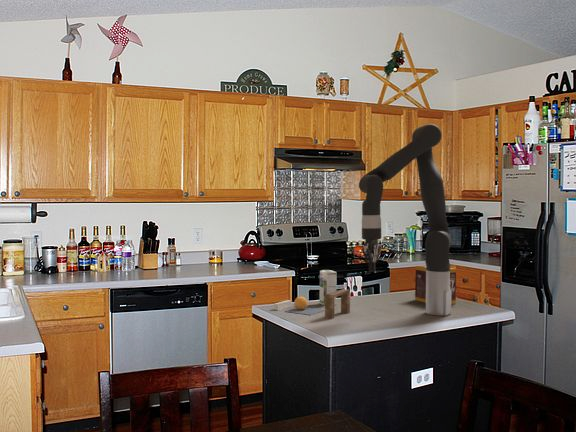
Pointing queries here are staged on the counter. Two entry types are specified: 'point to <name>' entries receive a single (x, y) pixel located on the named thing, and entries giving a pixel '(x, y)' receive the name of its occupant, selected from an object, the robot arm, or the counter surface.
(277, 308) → the beige thin bar
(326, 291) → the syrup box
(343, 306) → the bridge
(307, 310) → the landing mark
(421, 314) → the counter surface
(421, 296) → the supplement box
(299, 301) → the ball
